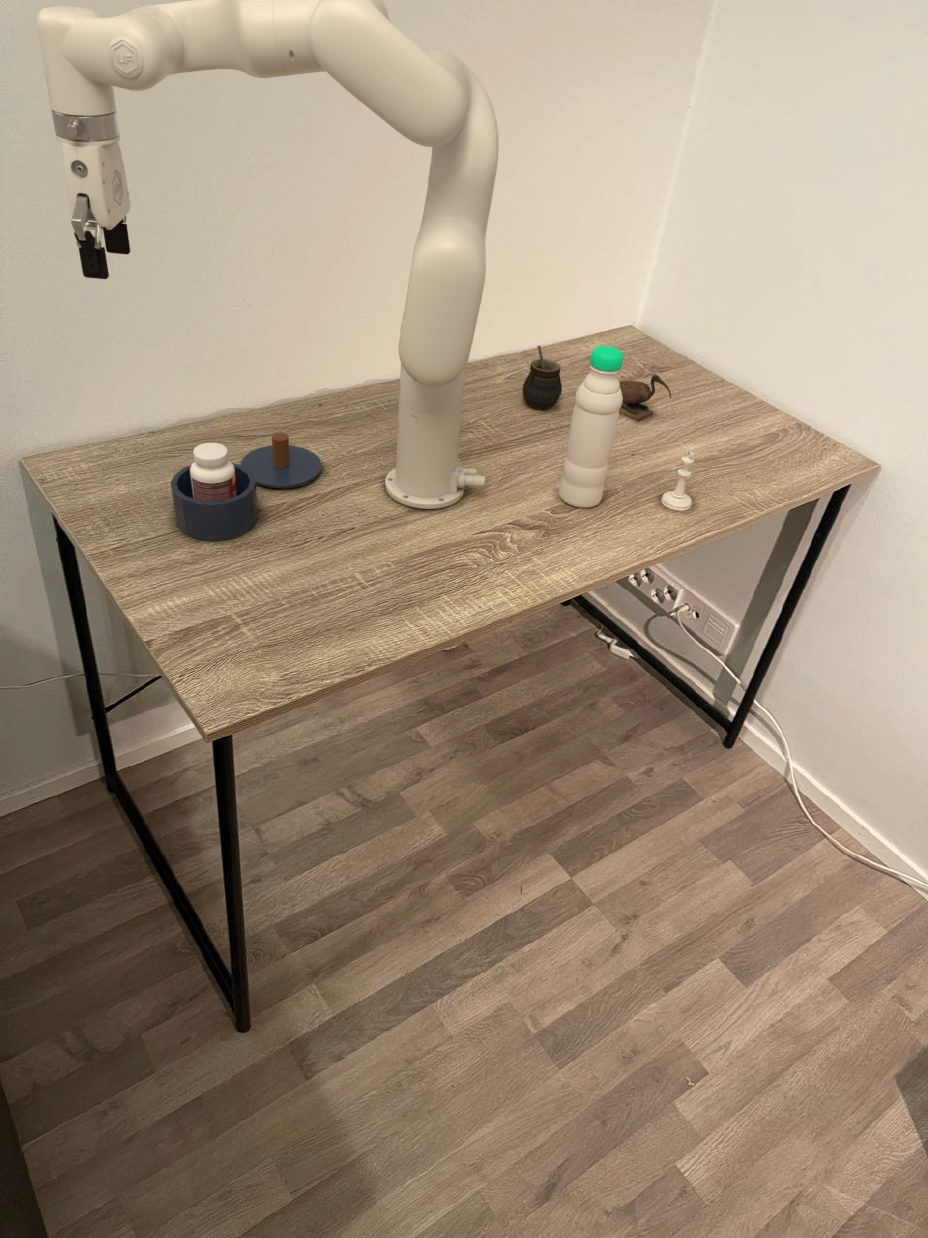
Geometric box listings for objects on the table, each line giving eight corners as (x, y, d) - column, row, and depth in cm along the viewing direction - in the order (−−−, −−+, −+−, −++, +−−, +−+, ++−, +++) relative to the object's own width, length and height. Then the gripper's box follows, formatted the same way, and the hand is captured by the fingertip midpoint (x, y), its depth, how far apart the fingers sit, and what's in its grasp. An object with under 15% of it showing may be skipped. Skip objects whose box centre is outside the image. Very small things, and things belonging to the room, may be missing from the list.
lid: (326, 453, 154) (325, 420, 150) (315, 494, 144) (315, 460, 141) (249, 447, 154) (247, 413, 150) (233, 487, 144) (231, 453, 140)
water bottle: (605, 492, 152) (636, 346, 136) (596, 514, 147) (627, 365, 131) (563, 482, 154) (590, 336, 138) (553, 503, 148) (578, 354, 133)
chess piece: (673, 513, 149) (688, 458, 143) (655, 497, 153) (668, 443, 146) (697, 507, 151) (713, 453, 145) (678, 492, 155) (693, 438, 148)
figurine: (670, 423, 173) (681, 380, 168) (656, 430, 171) (667, 386, 165) (612, 395, 181) (620, 352, 175) (597, 401, 178) (606, 358, 172)
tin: (263, 500, 142) (261, 464, 138) (249, 544, 133) (246, 507, 129) (186, 494, 141) (182, 458, 137) (167, 538, 132) (161, 500, 128)
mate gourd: (534, 416, 171) (541, 365, 165) (512, 398, 176) (518, 348, 169) (566, 410, 174) (574, 359, 168) (543, 392, 179) (551, 342, 173)
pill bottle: (245, 522, 136) (240, 456, 129) (204, 533, 134) (197, 466, 127) (228, 501, 140) (222, 436, 133) (188, 511, 137) (180, 445, 130)
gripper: (95, 145, 109) (116, 290, 120) (136, 113, 123) (153, 246, 134) (29, 139, 109) (57, 285, 120) (78, 107, 122) (99, 241, 133)
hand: (107, 264), depth 127 cm, fingers open, 9 cm apart
